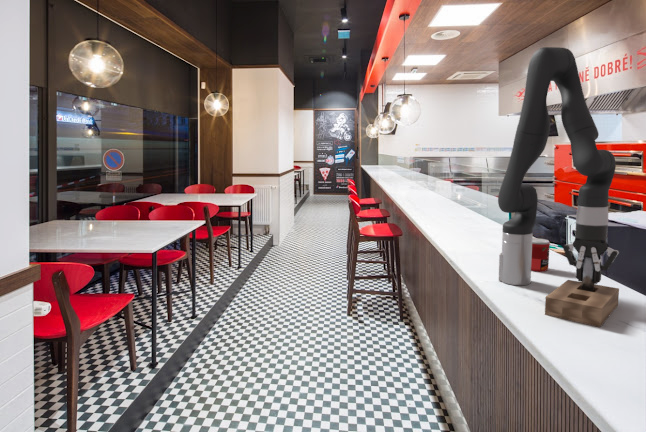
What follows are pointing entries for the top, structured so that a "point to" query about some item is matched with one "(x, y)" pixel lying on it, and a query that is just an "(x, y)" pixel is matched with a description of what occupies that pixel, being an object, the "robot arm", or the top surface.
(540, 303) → the top surface
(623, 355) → the top surface
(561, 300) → the hole block
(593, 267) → the pin
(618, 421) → the top surface
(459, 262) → the top surface
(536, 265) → the canned food
